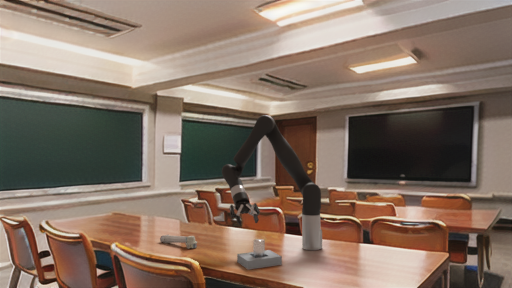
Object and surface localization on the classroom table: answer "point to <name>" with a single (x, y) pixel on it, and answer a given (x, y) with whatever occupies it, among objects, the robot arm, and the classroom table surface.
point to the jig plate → (259, 260)
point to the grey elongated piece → (180, 240)
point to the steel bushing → (258, 248)
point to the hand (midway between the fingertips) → (248, 222)
